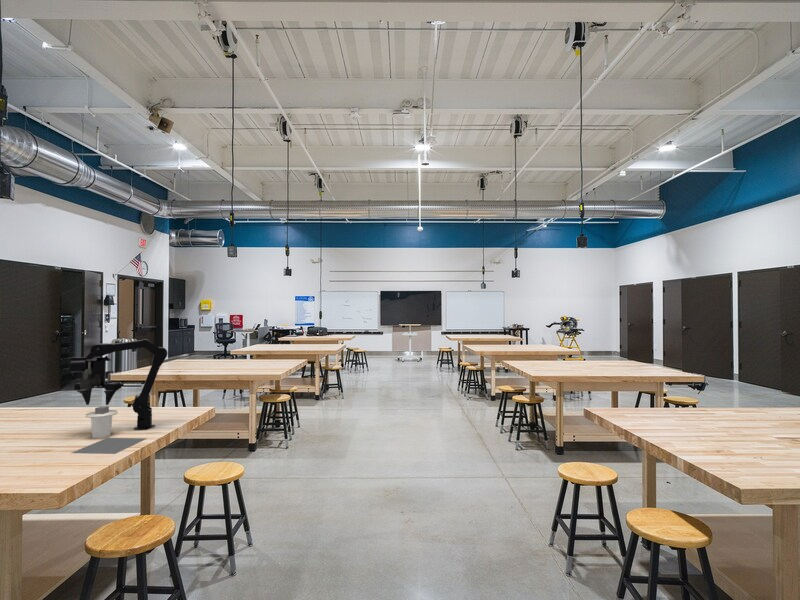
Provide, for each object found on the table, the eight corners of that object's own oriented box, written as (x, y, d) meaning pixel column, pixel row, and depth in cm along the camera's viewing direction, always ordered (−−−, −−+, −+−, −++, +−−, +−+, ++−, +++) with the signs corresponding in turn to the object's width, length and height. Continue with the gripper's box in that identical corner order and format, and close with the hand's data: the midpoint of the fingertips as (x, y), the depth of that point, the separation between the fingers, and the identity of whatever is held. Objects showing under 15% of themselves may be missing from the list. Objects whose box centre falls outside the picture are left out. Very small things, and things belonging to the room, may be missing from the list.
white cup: (87, 440, 185) (87, 417, 185) (95, 434, 193) (95, 412, 193) (108, 438, 187) (108, 415, 188) (114, 433, 195) (115, 411, 195)
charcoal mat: (107, 438, 187) (107, 437, 187) (147, 439, 186) (147, 438, 186) (70, 454, 167) (70, 452, 167) (115, 455, 166) (115, 453, 166)
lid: (98, 411, 196) (98, 404, 196) (124, 411, 196) (124, 404, 196) (78, 417, 184) (78, 410, 184) (105, 417, 184) (105, 410, 184)
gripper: (64, 373, 188) (63, 408, 188) (105, 373, 188) (104, 409, 187) (83, 369, 199) (83, 403, 199) (122, 370, 199) (121, 403, 198)
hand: (97, 404), depth 196 cm, fingers open, 9 cm apart
